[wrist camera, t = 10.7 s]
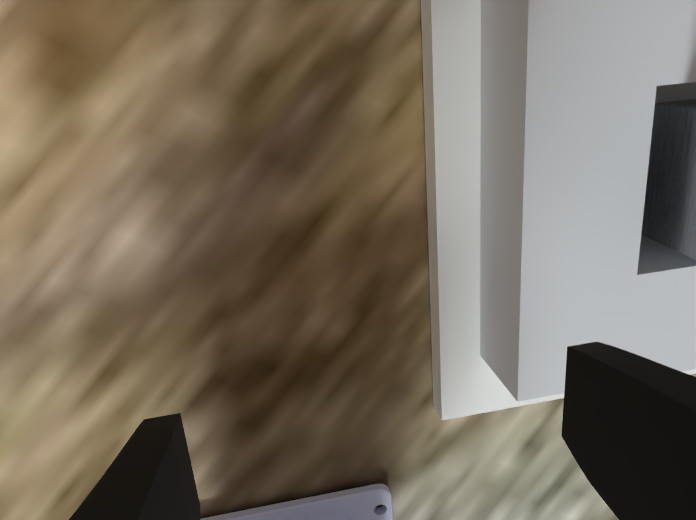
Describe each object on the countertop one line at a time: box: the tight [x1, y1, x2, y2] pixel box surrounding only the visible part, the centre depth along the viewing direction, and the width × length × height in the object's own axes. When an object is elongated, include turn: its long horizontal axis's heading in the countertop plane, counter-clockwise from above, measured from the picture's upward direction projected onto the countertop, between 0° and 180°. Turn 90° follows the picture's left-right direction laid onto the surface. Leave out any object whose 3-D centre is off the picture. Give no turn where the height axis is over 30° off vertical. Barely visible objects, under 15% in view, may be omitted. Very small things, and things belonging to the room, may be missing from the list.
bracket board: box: [421, 0, 696, 420], centre depth 19 cm, size 18×16×4 cm
